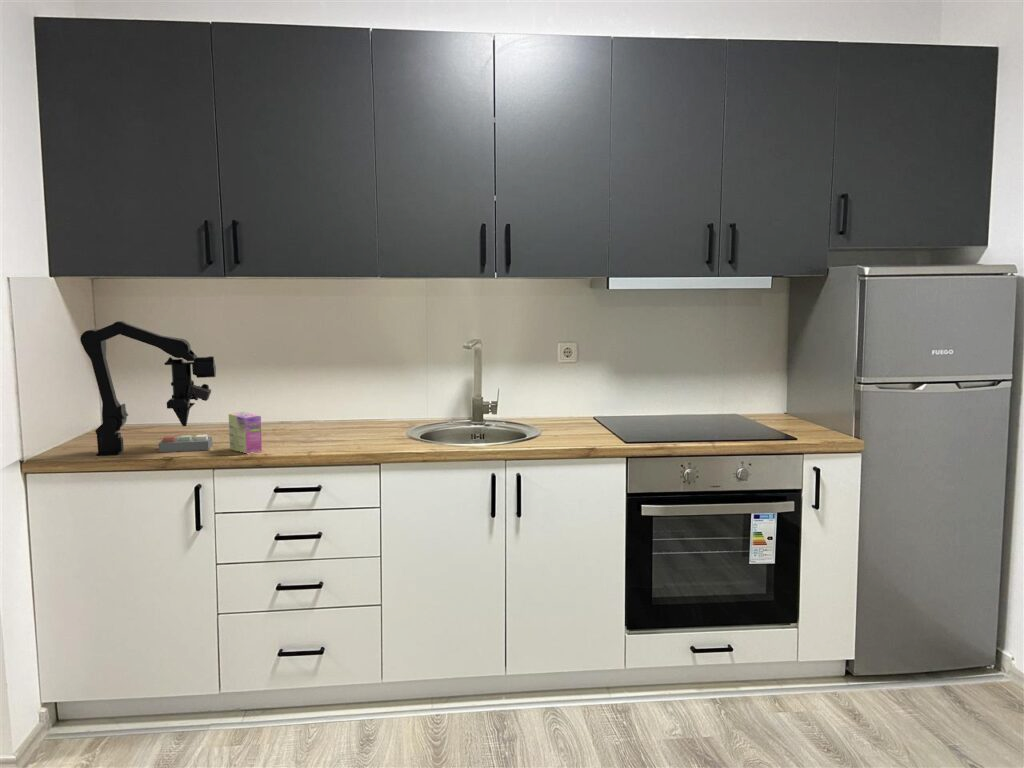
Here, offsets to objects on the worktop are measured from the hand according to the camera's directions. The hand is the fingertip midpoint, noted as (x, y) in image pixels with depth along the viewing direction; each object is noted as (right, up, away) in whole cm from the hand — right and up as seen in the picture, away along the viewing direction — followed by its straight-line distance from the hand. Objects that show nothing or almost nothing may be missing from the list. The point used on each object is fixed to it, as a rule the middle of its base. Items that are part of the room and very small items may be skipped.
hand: (184, 425), depth 255 cm
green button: (0, -5, +1) cm, 5 cm away
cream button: (+5, -5, +2) cm, 7 cm away
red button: (-5, -6, 0) cm, 7 cm away
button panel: (0, -8, +1) cm, 8 cm away
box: (+20, -8, -1) cm, 22 cm away
